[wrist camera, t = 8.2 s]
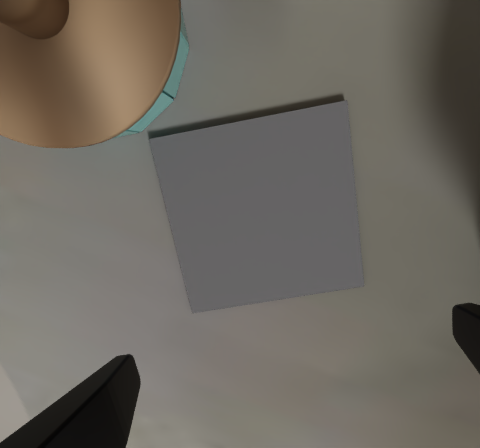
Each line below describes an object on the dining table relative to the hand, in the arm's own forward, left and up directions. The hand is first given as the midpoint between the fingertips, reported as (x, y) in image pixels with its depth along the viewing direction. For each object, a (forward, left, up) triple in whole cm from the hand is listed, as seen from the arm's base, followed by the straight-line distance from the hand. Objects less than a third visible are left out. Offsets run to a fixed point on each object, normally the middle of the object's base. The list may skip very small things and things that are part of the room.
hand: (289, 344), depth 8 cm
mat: (0, -1, -12) cm, 12 cm away
